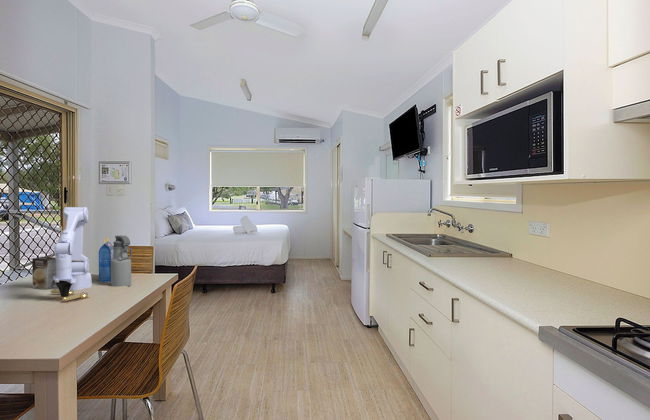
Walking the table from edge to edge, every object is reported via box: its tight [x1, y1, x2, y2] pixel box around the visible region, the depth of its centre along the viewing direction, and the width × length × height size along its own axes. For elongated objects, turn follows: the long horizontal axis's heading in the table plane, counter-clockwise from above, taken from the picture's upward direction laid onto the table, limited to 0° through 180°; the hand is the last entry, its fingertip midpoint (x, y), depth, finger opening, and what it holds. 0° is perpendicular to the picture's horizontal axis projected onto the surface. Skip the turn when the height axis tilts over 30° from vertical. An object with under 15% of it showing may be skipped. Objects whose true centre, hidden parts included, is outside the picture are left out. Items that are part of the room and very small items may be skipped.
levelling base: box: [47, 294, 91, 304], centre depth 165 cm, size 10×16×2 cm, turn 65°
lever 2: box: [62, 292, 89, 301], centre depth 163 cm, size 11×4×2 cm, turn 155°
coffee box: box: [31, 256, 58, 290], centre depth 187 cm, size 9×6×16 cm
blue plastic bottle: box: [98, 236, 114, 283], centre depth 206 cm, size 6×12×25 cm, turn 24°
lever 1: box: [50, 288, 75, 296], centre depth 170 cm, size 11×4×2 cm, turn 91°
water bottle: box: [110, 235, 133, 288], centre depth 191 cm, size 10×10×28 cm
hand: (64, 296), depth 163 cm, fingers closed
